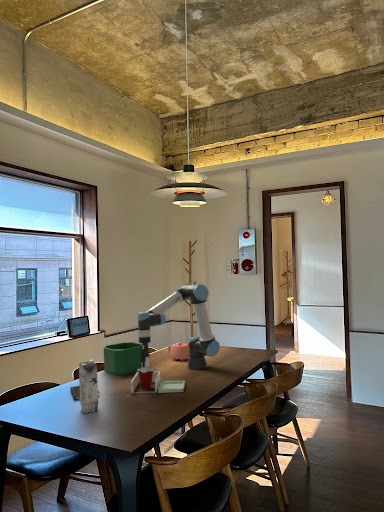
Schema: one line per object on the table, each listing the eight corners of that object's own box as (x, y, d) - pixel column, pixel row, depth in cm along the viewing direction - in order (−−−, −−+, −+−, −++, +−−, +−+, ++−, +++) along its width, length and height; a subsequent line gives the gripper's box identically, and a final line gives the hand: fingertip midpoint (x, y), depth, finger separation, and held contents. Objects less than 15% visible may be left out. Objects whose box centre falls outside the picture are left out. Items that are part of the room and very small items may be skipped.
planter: (118, 376, 285) (117, 350, 286) (101, 370, 305) (100, 346, 305) (148, 368, 302) (147, 345, 303) (129, 363, 322) (129, 341, 322)
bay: (137, 382, 266) (137, 372, 266) (160, 381, 265) (160, 371, 266) (131, 393, 243) (130, 382, 243) (156, 392, 242) (156, 381, 243)
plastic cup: (158, 386, 256) (157, 367, 257) (149, 390, 247) (148, 371, 247) (144, 384, 261) (143, 366, 262) (134, 389, 252) (134, 370, 252)
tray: (161, 384, 259) (160, 381, 260) (184, 383, 259) (184, 380, 259) (158, 392, 242) (157, 389, 242) (183, 391, 241) (183, 388, 242)
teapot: (196, 358, 331) (195, 341, 331) (191, 361, 319) (190, 344, 319) (171, 357, 338) (170, 340, 338) (165, 361, 326) (165, 343, 326)
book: (70, 391, 254) (70, 387, 254) (93, 388, 260) (93, 383, 260) (74, 401, 234) (74, 396, 234) (99, 397, 240) (99, 392, 240)
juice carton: (82, 414, 210) (80, 363, 211) (79, 408, 220) (78, 359, 221) (99, 411, 214) (97, 361, 214) (95, 405, 223) (94, 357, 224)
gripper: (141, 333, 268) (142, 365, 267) (135, 339, 243) (136, 374, 242) (152, 333, 267) (153, 364, 266) (147, 339, 242) (148, 374, 242)
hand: (145, 369), depth 254 cm, fingers open, 13 cm apart
